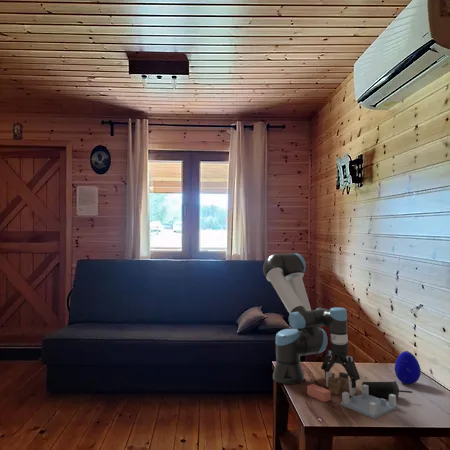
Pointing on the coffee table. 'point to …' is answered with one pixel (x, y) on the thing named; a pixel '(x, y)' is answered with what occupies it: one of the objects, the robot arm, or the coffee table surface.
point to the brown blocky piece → (338, 383)
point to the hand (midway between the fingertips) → (340, 390)
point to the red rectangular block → (319, 392)
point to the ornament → (407, 368)
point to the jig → (369, 403)
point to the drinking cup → (384, 389)
